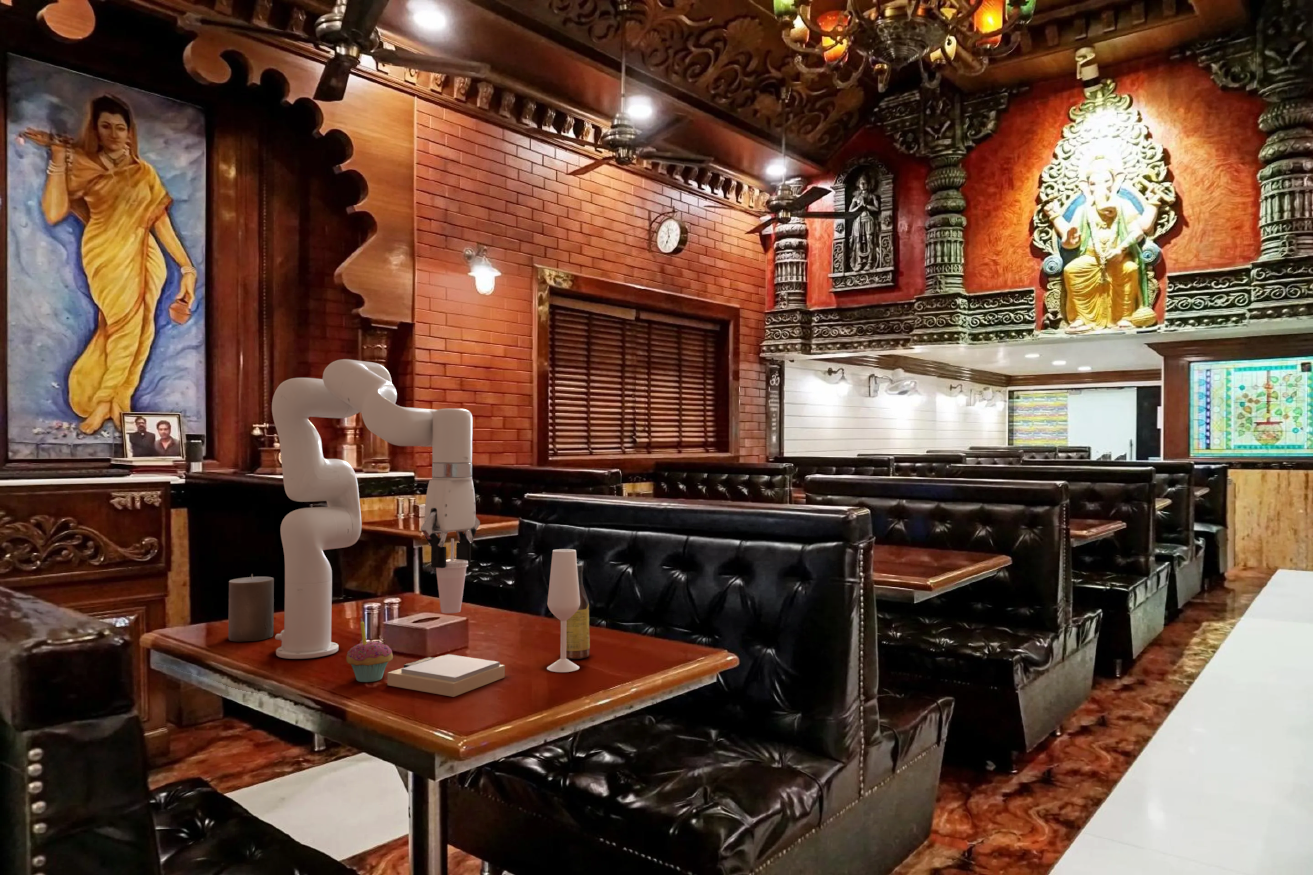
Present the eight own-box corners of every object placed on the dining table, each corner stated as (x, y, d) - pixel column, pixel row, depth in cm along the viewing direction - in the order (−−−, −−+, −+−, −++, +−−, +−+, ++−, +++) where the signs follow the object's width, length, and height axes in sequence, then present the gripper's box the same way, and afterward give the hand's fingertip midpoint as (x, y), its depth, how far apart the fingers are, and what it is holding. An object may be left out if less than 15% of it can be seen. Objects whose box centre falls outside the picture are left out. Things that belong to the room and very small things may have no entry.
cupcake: (365, 687, 155) (366, 622, 155) (336, 680, 159) (337, 617, 160) (401, 677, 162) (402, 615, 162) (372, 670, 167) (373, 610, 167)
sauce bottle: (595, 656, 179) (596, 564, 180) (573, 661, 175) (574, 567, 175) (575, 651, 184) (576, 561, 184) (553, 656, 179) (554, 564, 180)
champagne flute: (549, 663, 173) (550, 548, 174) (581, 663, 173) (582, 548, 174) (544, 671, 167) (545, 552, 167) (577, 672, 166) (578, 552, 167)
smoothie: (472, 608, 163) (473, 537, 163) (461, 614, 157) (462, 540, 157) (440, 607, 164) (441, 536, 164) (428, 614, 157) (429, 540, 158)
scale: (387, 685, 156) (387, 668, 156) (441, 667, 170) (442, 651, 170) (453, 696, 149) (453, 679, 149) (504, 677, 162) (505, 660, 162)
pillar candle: (280, 637, 196) (281, 573, 196) (237, 644, 189) (238, 578, 189) (262, 631, 203) (263, 569, 203) (220, 637, 195) (221, 573, 196)
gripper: (466, 471, 170) (465, 559, 170) (405, 473, 155) (404, 569, 154) (495, 472, 167) (494, 561, 166) (436, 473, 151) (435, 572, 151)
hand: (451, 564), depth 160 cm, fingers closed on smoothie, 6 cm apart
